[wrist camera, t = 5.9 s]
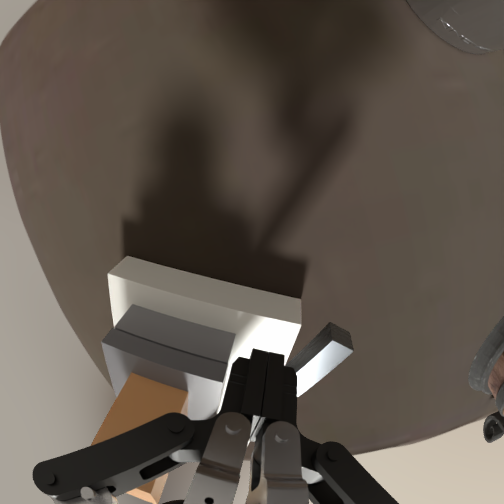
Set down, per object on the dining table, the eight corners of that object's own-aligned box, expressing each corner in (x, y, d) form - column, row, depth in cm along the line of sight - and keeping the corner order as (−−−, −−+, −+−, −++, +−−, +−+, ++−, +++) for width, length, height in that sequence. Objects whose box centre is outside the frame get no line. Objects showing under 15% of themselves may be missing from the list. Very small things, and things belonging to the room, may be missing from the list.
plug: (131, 303, 19) (39, 430, 8) (236, 333, 19) (189, 500, 8) (139, 369, 23) (83, 475, 12) (222, 395, 22) (189, 517, 12)
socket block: (127, 255, 21) (71, 308, 14) (301, 299, 20) (301, 378, 14) (141, 395, 30) (118, 441, 23) (250, 426, 29) (241, 479, 22)
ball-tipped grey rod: (319, 315, 12) (320, 334, 10) (359, 337, 12) (363, 356, 11) (178, 443, 19) (175, 454, 18) (203, 453, 20) (200, 464, 18)
